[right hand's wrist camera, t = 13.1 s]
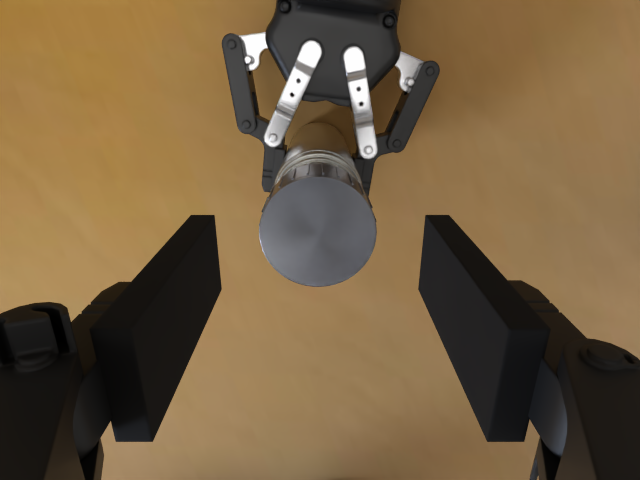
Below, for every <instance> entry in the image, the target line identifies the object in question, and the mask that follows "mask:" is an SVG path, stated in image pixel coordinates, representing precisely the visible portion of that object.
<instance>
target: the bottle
mask: <svg viewBox="0 0 640 480" xmlns="http://www.w3.org/2000/svg"><path fill="white" fill-rule="evenodd" d="M322 163H324V164H327V165H332V166H335V167H336V166H338V168H340V169H342V170H344V171H346V172H347V173H351V176H353V177H354V178H355V179H356V180H357V181H358V182H360V183H361V186H362V182H361V179H360V176H359V173H358V171H357V169H356V166H355V164H354V161H353V159H352V156H351V154H350V151H349V149H348V146H347V144H346V142H345V139H344V137H343V135H342V134H341V133H340V131H339V130H338V129H336V128H335V127H334V126H332V125H330V124H327V123H324V122H313V123H309V124H307V125H305V126H303V127H302V128H300V129H299V130H298V131H297V132H296V134H295V135H294V137H293V139H292V141H291V143H290V146H289V148H288V150H287V153H286V155H285V158H284V160H283V162H282V165H281V167H280V169H279V172H278V174H277V177H276V179H275V183H274V185H276V184H277V183H278V181H279V180H280V179H281V178H282V176H283V175H286V174H287V173H289V172H290V171H292V170H294V168H295V167H296V168H298V167H301V166H304V165H308V164H322ZM362 188H363V186H362Z"/></svg>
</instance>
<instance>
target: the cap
mask: <svg viewBox="0 0 640 480" xmlns="http://www.w3.org/2000/svg"><path fill="white" fill-rule="evenodd" d="M371 208H373V207H372V205H371V202H370V200H369V197H368V195H367V193H366V194H365V192H364V190H363V188H362V186H361V183H360V182H358V181H357V180H356V179H355V178H354V177H353V176H351V173H347V172H346V171H344V170H342V169H340V168H338V166H336V167H335V166H332V165H327V164H324V163H322V164H308V165H304V166H301V167H298V168H296V167H295V168H294V170H292V171H290V172H289V173H287V174H286V175H283V176H282V178H281V179H280V180H279V181H278V183H277V184H276V185H274V186H273V188H272V190H271V192H270V195H269V197H267V200H266V202H265V204H264V207H263V209H262V212H263V213H262V216H261V220H260V224H259V237H260V243H261V247H262V250H263V252H264V254H265V256H266V258H267V260H268V261H269V263H270V264H271V265H272V266H273V268H274V269H275V270H276V271H278V272H279V273H280V274H281V275H283V276H284V277H285V278H287V279H289V280H291V281H293V282H296V283H298V284H302V285H306V286H313V287H322V286H330V285H334V284H337V283H340V282H343V281H345V280H347V279H349V278H350V277H352V276H353V275H355V274H356V273H357V272H358V271H359V270H360V269H361V268H362V267H363V266H364V265H365V264H366V262H367V261H368V259H369V258H370V256H371V254H372V252H373V249H374V246H375V242H376V233H377V231H376V219H375V216H374V214H373V211H372V209H371Z"/></svg>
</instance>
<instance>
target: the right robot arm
mask: <svg viewBox="0 0 640 480" xmlns="http://www.w3.org/2000/svg"><path fill="white" fill-rule="evenodd" d="M221 289H222V288H221V278H220V268H219V257H218V247H217V237H216V227H215V216H214V215H191V216H190V217H189V218H188V219H187V220H186V221H185V223H184V224H183V225H182V226H181V227H180V228H179V229H178V230H177V231H176V233H175V234H174V235H173V236H172V237H171V238H170V239H169V240H168V241H167V243H166V244H165V245H164V246H163V247H162V248H161V249H160V250H159V252H158V253H157V254H156V255H155V256H154V257H153V258H152V259H151V260H150V262H149V263H148V264H147V265H146V266H145V267H144V268H143V269H142V270H141V272H140V273H139V274H138V275H137V276H136V277H135V278H134V279H133V281H132V282H118V283H116V284H114V285H113V286H111V287H109V288H107V289H105V290H103V291H102V292H101V293H100V294H99V295H98V296H97V297H96V298H95V299H94V300H93V301H92V302H91V305H88V306H87V307H86V308H85V309H84V310H83V311H82V314H79V315H78V316H77V317H76V318H75V319H74V320H73V321H72V322H71V321H70V317H69V313H68V309H67V307H65V306H63V305H62V304H59V303H52V302H44V303H33V304H29V305H24V306H20V307H17V308H14V309H11V310H8V311H6V312H3V313H1V314H0V480H101V475H102V467H103V460H104V453H103V447H102V443H101V439H100V438H101V436H102V434H103V433H104V431H105V429H106V428H107V426H108V424H109V423H110V421H111V423H112V427H113V432H114V436H115V440H116V442H153V440H154V438H155V435H156V433H157V431H158V429H159V427H160V424H161V422H162V420H163V418H164V416H165V413H166V411H167V409H168V407H169V404H170V402H171V400H172V398H173V396H174V393H175V391H176V389H177V387H178V385H179V382H180V380H181V378H182V376H183V373H184V371H185V369H186V367H187V365H188V362H189V360H190V358H191V356H192V354H193V351H194V349H195V347H196V345H197V343H198V340H199V338H200V336H201V334H202V331H203V329H204V327H205V325H206V323H207V320H208V318H209V316H210V314H211V312H212V309H213V307H214V305H215V303H216V300H217V298H218V296H219V294H220V292H221ZM418 289H419V292H420V294H421V296H422V298H423V300H424V303H425V305H426V307H427V309H428V312H429V314H430V316H431V318H432V320H433V323H434V325H435V327H436V329H437V331H438V334H439V336H440V338H441V340H442V343H443V345H444V347H445V349H446V351H447V354H448V356H449V358H450V360H451V362H452V365H453V367H454V369H455V371H456V373H457V376H458V378H459V380H460V382H461V385H462V387H463V389H464V391H465V393H466V396H467V398H468V400H469V402H470V404H471V407H472V409H473V411H474V413H475V416H476V418H477V420H478V422H479V424H480V427H481V429H482V431H483V433H484V435H485V438H486V440H487V442H524V440H525V436H526V432H527V427H528V423H529V419H530V420H531V422H532V424H533V425H534V427H535V429H536V430H537V432H538V434H539V435H540V439H539V443H538V447H537V451H536V455H535V459H534V463H533V466H532V470H531V474H530V480H537V476H538V475H539V480H640V360H639V359H638V358H637V357H635V356H634V355H632V354H631V353H629V352H628V351H626V350H625V349H622V348H620V347H618V346H615V345H613V344H611V343H607V342H604V341H600V340H596V339H587V338H586V337H585V336H584V335H583V334H582V333H581V332H580V331H579V330H578V329H577V328H576V327H575V326H574V325H573V324H572V323H571V322H570V321H569V320H568V319H567V318H566V317H565V316H564V315H563V314H562V313H559V310H558V309H557V308H556V307H555V306H554V305H553V304H552V303H550V302H549V300H548V299H547V298H546V297H545V296H544V295H543V294H542V293H541V292H540V291H539V290H538V289H536V288H534V287H532V286H530V285H529V284H527V283H525V282H523V281H521V280H507V279H506V278H505V277H504V276H503V275H502V274H501V273H500V272H499V270H498V269H497V268H496V267H495V266H494V265H493V264H492V263H491V262H490V260H489V259H488V258H487V257H486V256H485V255H484V254H483V253H482V252H481V250H480V249H479V248H478V247H477V246H476V245H475V244H474V243H473V241H472V240H471V239H470V238H469V237H468V236H467V235H466V234H465V233H464V231H463V230H462V229H461V228H460V227H459V226H458V225H457V224H456V223H455V221H454V220H453V219H452V218H451V217H450V216H449V215H426V216H425V227H424V237H423V247H422V257H421V268H420V278H419V288H418Z"/></svg>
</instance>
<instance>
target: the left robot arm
mask: <svg viewBox="0 0 640 480" xmlns="http://www.w3.org/2000/svg"><path fill="white" fill-rule="evenodd" d="M400 4H401V0H277V1H276V9H275V13H274V16H273V18H272V20H271V22H270V23H269V25H268V27H267V29H266V32H262V33H255V34H248V35H241V36H239V35H236V34H232V33H230V34H227V35H225V36H224V38H223V40H222V48H223V53H224V58H225V64H226V69H227V74H228V79H229V84H230V90H231V95H232V100H233V105H234V110H235V116H236V121H237V126H238V129H239V130H240V131H241V132H242V133H244V134H250V135H252V136H254V137H256V138H258V139H259V140H261V142H262V143H263V145H264V149H265V151H264V163H263V176H262V186H263V189H264V192H271V190H272V188H273V186H274V183H275V179H276V177H277V174H278V172H279V169H280V167H281V165H282V162H283V160H284V158H285V155H286V152H287V145H284V143H285V134H286V132H287V130H288V128H289V126H290V123H291V121H292V119H293V117H294V115H295V113H296V111H297V108H298V106H299V104H300V102H301V100H303V101H311V102H317V101H324V100H327V101H330V102H332V103H334V104H337V105H341V106H348V107H349V110H350V115H351V120H352V124H353V130H354V135H355V141H356V146H357V148H356V154H355V153H353V154H352V159H353V161H354V164H355V166H356V169H357V171H358V173H359V176H360V179H361V182H362V186H363V190H364V192H365V194H366V193H367V195H368V196H369V190H370V184H371V178H372V173H373V167H374V162H375V160H376V159H377V158H378V157H379V156H380V155H383V154H387V153H391V152H395V153H398V152H401V151H402V150H403V149H404V148H405V146H406V144H407V142H408V140H409V137H410V135H411V133H412V131H413V129H414V127H415V125H416V122H417V120H418V118H419V116H420V114H421V112H422V109H423V107H424V105H425V103H426V101H427V99H428V97H429V94H430V92H431V90H432V88H433V86H434V84H435V82H436V79H437V77H438V75H439V71H440V69H439V66H438V64H437V63H436V62H434V61H422V60H420V59H417V58H415V57H413V56H411V55H408V54H406V53H404V52H402V51H401V47H400V43H399V40H398V36H397V21H398V15H399V10H400ZM267 49H269V51H270V53H271V55H272V57H273V58H274V60H275V62H276V64H277V66H278V68H279V69H280V71H281V73H282V75H283V77H284V79H285V81H286V82H287V83H286V85H285V88H284V90H283V92H282V94H281V97H280V99H279V101H278V103H277V106H276V109H275V111H274V114H273V116H272V118H271V120H270V121H269V120H267V119H265V118H263V117H261V116H260V114H259V108H258V102H257V97H256V91H255V85H254V79H253V73H252V71H254V70H256V69H258V68H259V66H260V64H261V55H262V53H263V52H264V51H265V50H267ZM393 67H395V68H396V69H397V71H398V79H397V86H398V88H399V89H400V90H402V91H403V92H402V94H401V97H400V99H399V101H398V103H397V106H396V108H395V110H394V112H393V115H392V117H391V119H390V121H389V124H388V126H387V128H386V131H385V132H384V133H379V134H375V130H374V124H373V113H372V107H371V101H370V95H369V93H370V92H371V91H372V89H373V88H374V87H375V86H376V85H377V84H378V83H379V82H380V81H381V80H382V79H383V78H384V77H385V75H386V74H387V73H388V72H389V71H390V70H391V69H392V68H393ZM293 93H294V94H293Z"/></svg>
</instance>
